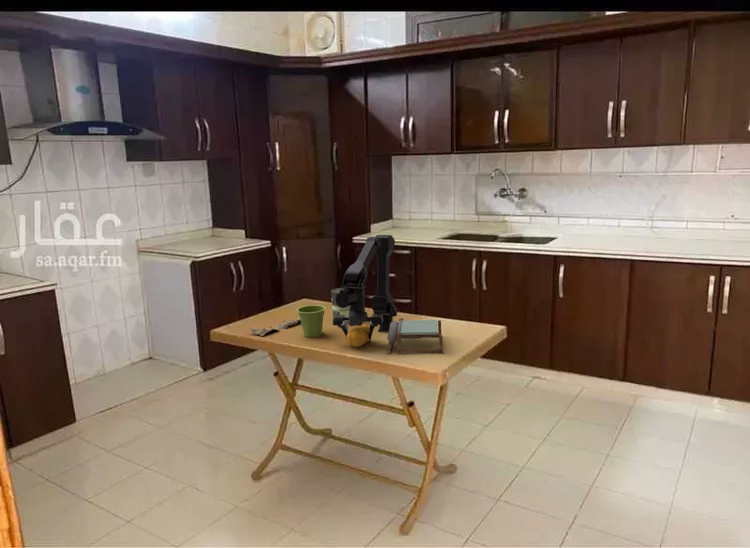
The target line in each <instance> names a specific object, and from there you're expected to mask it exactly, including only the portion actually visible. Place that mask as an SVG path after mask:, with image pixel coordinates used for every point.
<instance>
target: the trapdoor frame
mask: <svg viewBox="0 0 750 548" xmlns="http://www.w3.org/2000/svg"><path fill="white" fill-rule="evenodd" d="M400 320H402V321H404V318H398V322H399V321H400ZM437 328H438V334H416V335H401V333H397V334H396V335H397V340H396V353H397V355H416V354H415V353H439V354H444V352H443V351H444V345H443V344H444V342H443V338H444V337H443V334H442V320H440V319H439V320H438V319H437ZM420 337H432V338H438V341H439V342H438V345H439V348H438V349H437V348H435V349H434V348H433V349H431V348H430V349H429V348H428V349H403V348H402V345H403V344H402V339H417V338H418V339H419V338H420ZM420 339H421V338H420ZM387 343H388V344H387V347H386V355H391V352H392V346H393V343H392V342H389V341H388V342H387ZM408 353H409V354H408ZM413 353H414V354H413Z"/></svg>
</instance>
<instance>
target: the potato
mask: <svg viewBox="0 0 750 548" xmlns="http://www.w3.org/2000/svg"><path fill="white" fill-rule="evenodd" d="M369 332H370V325H367V324H365V323H362V325H361V326H358V325H357V326H355V327H353V328H352V329H350V330H348V334H347V337H346V336H345V338H346V341H347V343H348V345H350V346H352V347H355V348H359V347H362V346H363V345H365V344H366V343H367V342H369Z"/></svg>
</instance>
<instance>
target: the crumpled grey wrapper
mask: <svg viewBox="0 0 750 548" xmlns="http://www.w3.org/2000/svg"><path fill="white" fill-rule="evenodd" d="M283 322H286V323H283ZM298 322H301V320H300V318H298V319H297V320H295V319H294V320H289V319H286V320H283V321H282V323H283V325H279V324H276V325H277V326H275V327H277V328H276V329H275V328H273V327H270V328H269V327H266V328H265V327H263V328H256V327H249V328H248V329H249V330H250V332H252V333H253V334H254V335H259V336H261V337H262V336H265V335H266V334H267V333H268V332H271V331H273V330H274V331H275V330H276V331H279V330H281V329H286V330H287V329H288V327H289V326H293V325H295V324H297V323H298Z"/></svg>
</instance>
